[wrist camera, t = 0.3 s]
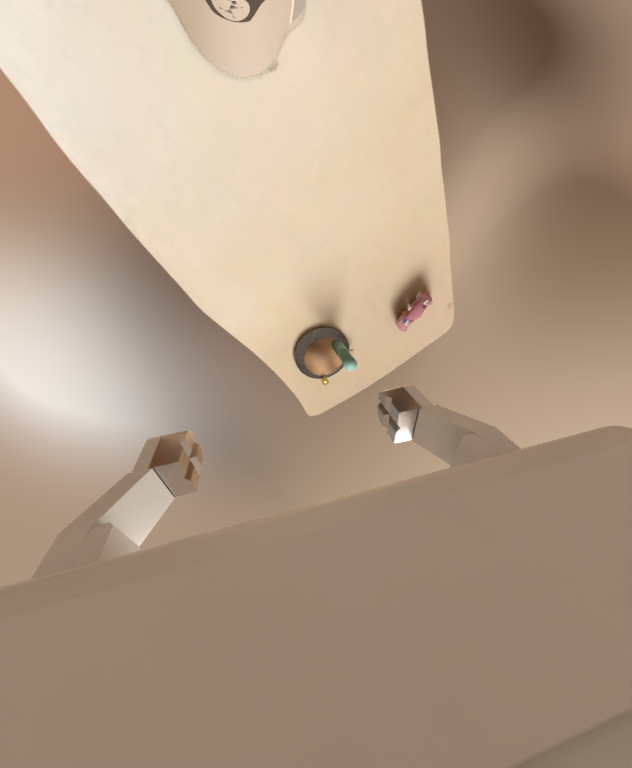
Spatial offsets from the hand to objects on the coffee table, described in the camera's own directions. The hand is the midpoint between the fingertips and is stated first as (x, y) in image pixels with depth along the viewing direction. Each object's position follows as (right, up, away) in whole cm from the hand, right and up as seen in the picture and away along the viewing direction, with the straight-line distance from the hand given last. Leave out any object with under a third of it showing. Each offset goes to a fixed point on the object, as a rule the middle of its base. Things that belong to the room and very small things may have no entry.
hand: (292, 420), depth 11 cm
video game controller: (+24, +20, +50) cm, 59 cm away
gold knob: (+3, +4, +55) cm, 55 cm away
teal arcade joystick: (+4, +8, +50) cm, 51 cm away
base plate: (+3, +9, +51) cm, 52 cm away
